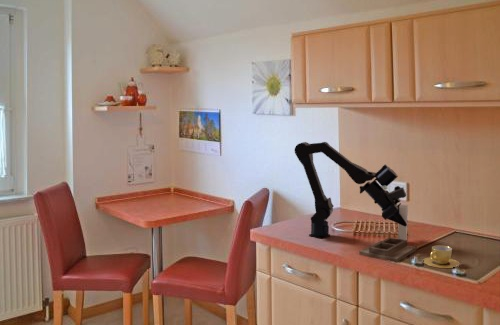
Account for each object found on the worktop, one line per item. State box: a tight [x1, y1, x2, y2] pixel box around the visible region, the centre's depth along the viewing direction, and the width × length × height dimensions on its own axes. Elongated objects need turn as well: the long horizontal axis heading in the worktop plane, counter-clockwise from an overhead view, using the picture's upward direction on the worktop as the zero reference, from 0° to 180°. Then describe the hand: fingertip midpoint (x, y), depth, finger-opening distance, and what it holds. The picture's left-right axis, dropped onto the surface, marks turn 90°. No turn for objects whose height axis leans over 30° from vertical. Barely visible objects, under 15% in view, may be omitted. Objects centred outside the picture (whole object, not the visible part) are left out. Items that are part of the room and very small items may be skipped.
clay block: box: [397, 204, 409, 241], centre depth 197 cm, size 3×5×14 cm, turn 161°
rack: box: [358, 237, 418, 263], centre depth 185 cm, size 14×18×3 cm
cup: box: [422, 245, 461, 269], centre depth 173 cm, size 12×12×5 cm
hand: (406, 224), depth 197 cm, fingers closed on clay block, 5 cm apart
